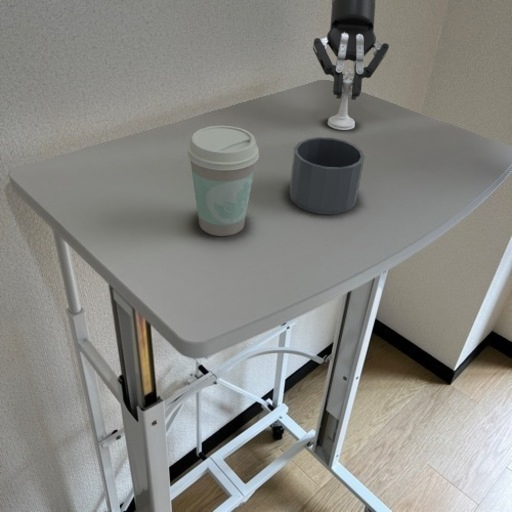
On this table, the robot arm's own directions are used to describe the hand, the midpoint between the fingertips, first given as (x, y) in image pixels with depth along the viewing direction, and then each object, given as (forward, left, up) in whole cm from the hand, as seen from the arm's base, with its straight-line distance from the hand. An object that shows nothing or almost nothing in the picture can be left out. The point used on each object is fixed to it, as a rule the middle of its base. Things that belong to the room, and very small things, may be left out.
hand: (346, 97), depth 94 cm
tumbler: (+6, +24, -6) cm, 25 cm away
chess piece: (0, -2, -6) cm, 6 cm away
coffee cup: (+20, +32, -6) cm, 38 cm away
